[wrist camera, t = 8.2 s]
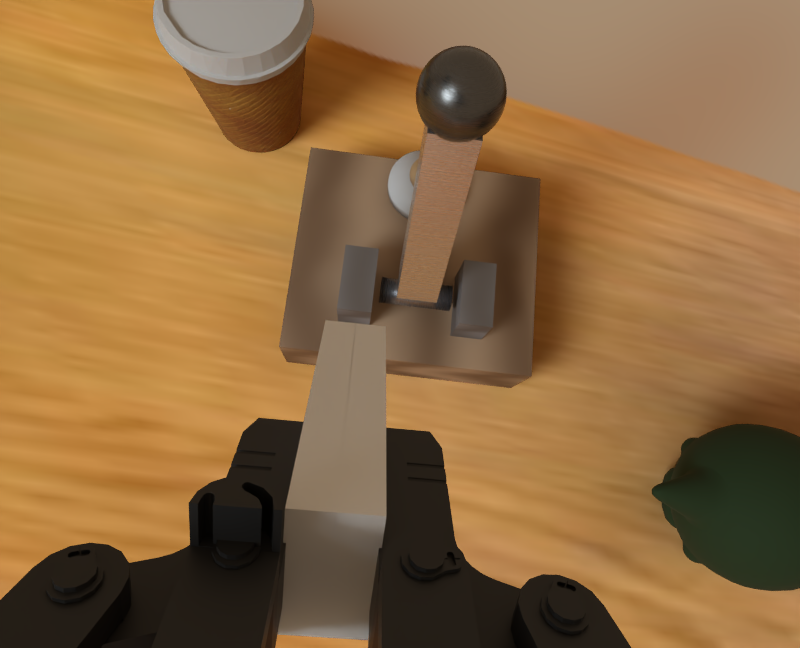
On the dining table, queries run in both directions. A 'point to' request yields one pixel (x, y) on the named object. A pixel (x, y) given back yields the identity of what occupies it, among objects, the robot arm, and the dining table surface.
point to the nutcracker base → (380, 257)
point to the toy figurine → (739, 504)
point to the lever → (444, 169)
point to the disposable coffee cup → (242, 62)
